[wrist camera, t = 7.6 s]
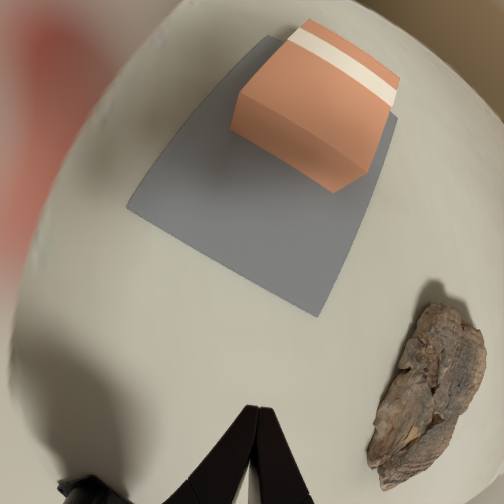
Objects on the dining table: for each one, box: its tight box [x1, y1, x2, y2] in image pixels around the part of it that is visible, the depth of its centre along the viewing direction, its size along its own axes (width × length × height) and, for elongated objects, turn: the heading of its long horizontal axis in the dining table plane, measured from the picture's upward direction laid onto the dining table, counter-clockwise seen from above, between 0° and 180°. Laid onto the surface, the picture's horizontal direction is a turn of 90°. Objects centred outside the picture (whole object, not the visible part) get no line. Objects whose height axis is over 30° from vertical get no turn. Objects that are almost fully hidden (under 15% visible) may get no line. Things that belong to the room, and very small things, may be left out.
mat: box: [126, 35, 398, 317], centre depth 21 cm, size 22×16×1 cm
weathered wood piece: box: [367, 302, 487, 491], centre depth 20 cm, size 14×5×20 cm
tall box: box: [230, 19, 400, 193], centre depth 19 cm, size 5×10×12 cm
